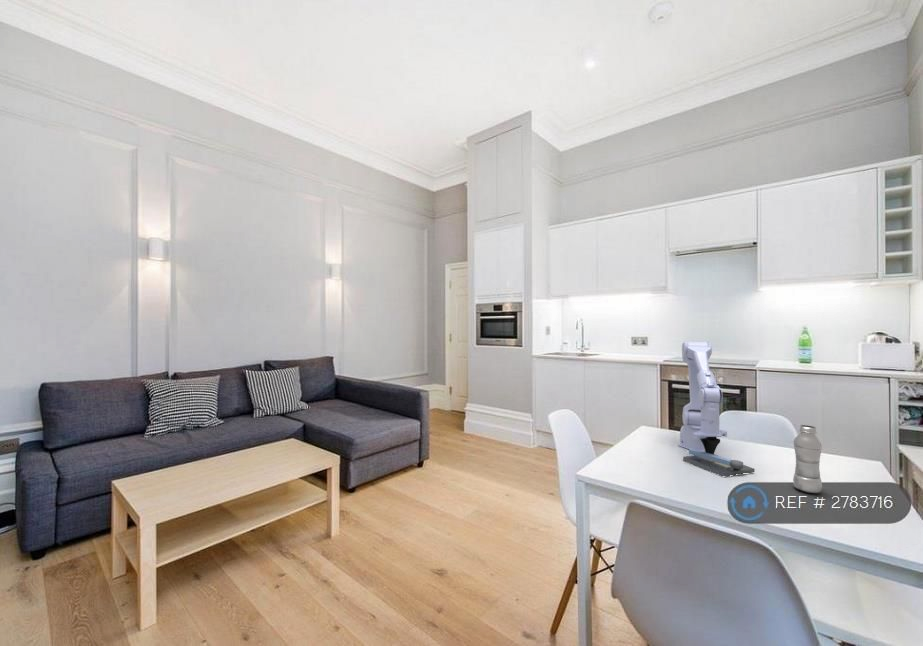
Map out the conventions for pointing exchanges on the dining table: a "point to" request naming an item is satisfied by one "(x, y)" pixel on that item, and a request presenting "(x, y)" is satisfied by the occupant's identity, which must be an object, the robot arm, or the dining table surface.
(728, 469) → the chassis
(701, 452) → the cable arm
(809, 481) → the plastic bottle
